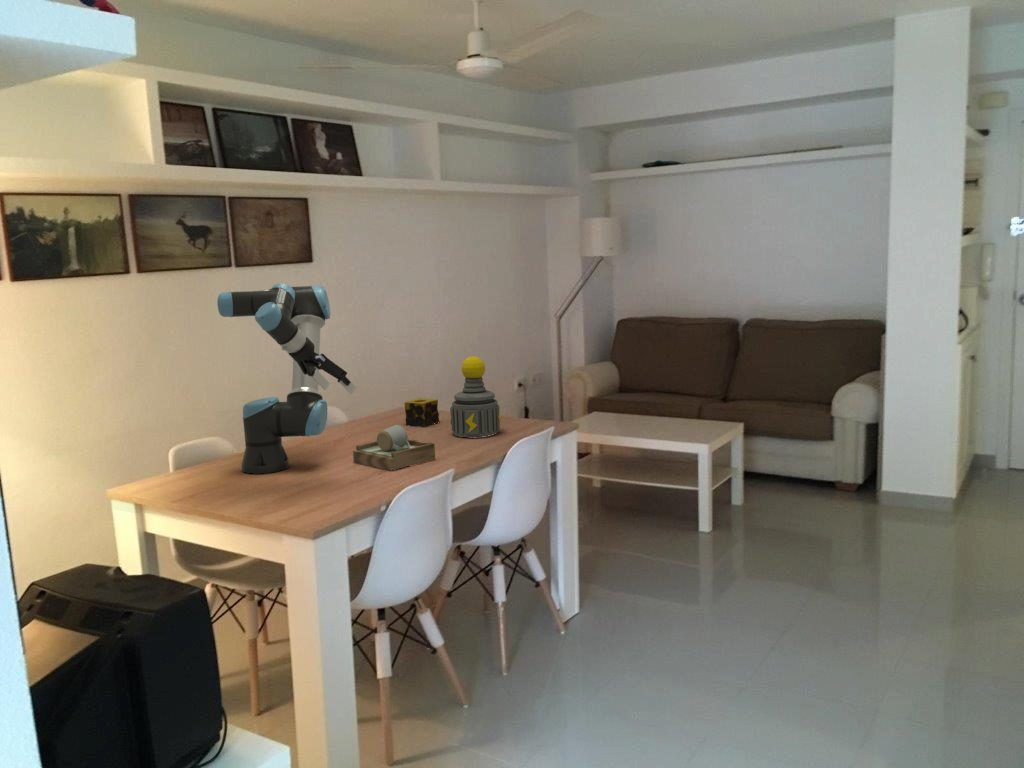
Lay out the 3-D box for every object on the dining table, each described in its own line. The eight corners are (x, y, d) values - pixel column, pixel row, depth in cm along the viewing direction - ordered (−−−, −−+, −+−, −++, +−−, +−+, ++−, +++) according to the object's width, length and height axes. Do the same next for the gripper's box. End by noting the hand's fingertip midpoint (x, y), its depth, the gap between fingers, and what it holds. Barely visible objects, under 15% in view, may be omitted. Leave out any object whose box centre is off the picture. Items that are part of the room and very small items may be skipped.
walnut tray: (353, 462, 285) (352, 446, 284) (397, 451, 298) (396, 436, 298) (391, 471, 271) (390, 454, 270) (435, 459, 285) (434, 443, 284)
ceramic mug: (375, 450, 281) (374, 428, 280) (391, 445, 288) (390, 423, 287) (399, 454, 276) (398, 431, 274) (415, 449, 282) (414, 426, 281)
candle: (440, 423, 348) (438, 399, 347) (424, 427, 340) (423, 403, 338) (420, 421, 353) (419, 397, 352) (405, 425, 345) (403, 401, 343)
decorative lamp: (503, 428, 332) (500, 352, 328) (497, 438, 314) (494, 358, 309) (456, 429, 335) (452, 354, 330) (447, 439, 316) (443, 360, 312)
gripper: (267, 351, 260) (310, 394, 273) (314, 357, 243) (358, 401, 257) (281, 333, 263) (323, 376, 276) (328, 337, 247) (371, 382, 260)
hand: (340, 388), depth 267 cm, fingers open, 13 cm apart
